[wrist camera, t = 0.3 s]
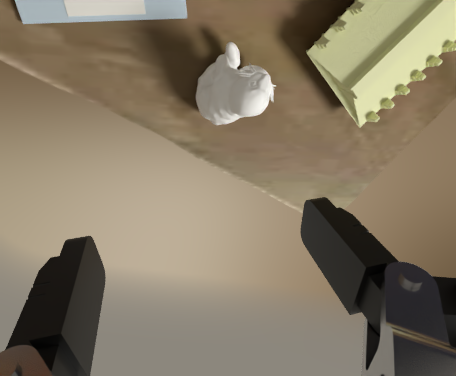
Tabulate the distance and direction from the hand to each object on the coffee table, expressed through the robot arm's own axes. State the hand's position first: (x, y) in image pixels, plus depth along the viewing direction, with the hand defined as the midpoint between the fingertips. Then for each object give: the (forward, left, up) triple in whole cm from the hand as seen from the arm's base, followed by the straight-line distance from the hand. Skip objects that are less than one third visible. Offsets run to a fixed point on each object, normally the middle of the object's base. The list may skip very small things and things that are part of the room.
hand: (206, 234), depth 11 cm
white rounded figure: (+1, +7, -29) cm, 29 cm away
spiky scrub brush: (-6, +29, -29) cm, 41 cm away
